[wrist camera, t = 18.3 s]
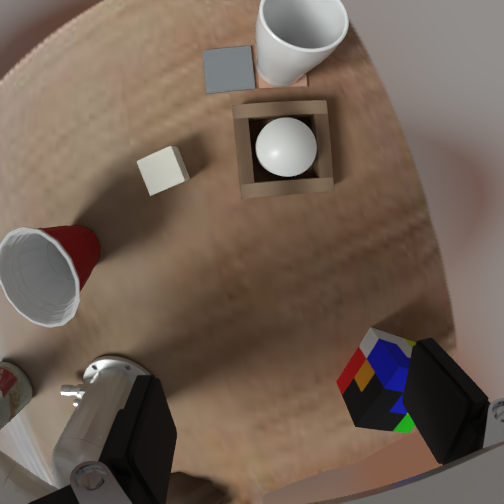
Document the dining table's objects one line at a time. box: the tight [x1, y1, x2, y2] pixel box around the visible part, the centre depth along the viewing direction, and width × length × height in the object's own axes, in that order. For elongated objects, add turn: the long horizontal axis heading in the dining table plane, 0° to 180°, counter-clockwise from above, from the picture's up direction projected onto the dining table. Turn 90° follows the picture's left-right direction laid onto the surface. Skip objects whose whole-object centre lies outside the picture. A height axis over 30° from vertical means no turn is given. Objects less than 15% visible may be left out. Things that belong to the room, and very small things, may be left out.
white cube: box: [137, 146, 190, 196], centre depth 34 cm, size 4×4×4 cm
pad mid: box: [203, 46, 255, 94], centre depth 32 cm, size 6×6×1 cm
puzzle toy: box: [336, 327, 416, 433], centre depth 39 cm, size 10×10×10 cm
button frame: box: [232, 100, 334, 199], centre depth 34 cm, size 10×10×3 cm
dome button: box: [255, 118, 317, 177], centre depth 33 cm, size 6×6×4 cm
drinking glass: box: [255, 0, 349, 87], centre depth 25 cm, size 7×7×15 cm
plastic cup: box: [0, 225, 100, 327], centre depth 32 cm, size 11×11×12 cm
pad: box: [255, 46, 307, 89], centre depth 33 cm, size 6×6×1 cm
